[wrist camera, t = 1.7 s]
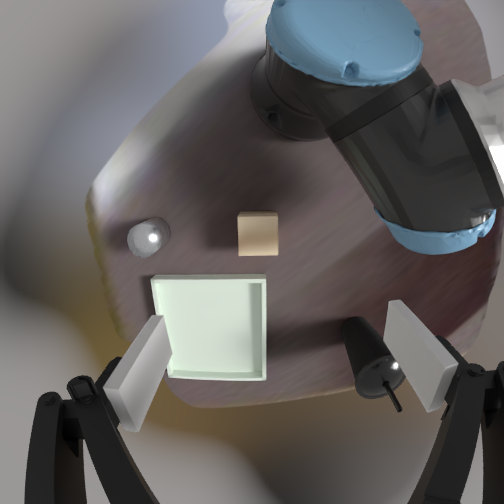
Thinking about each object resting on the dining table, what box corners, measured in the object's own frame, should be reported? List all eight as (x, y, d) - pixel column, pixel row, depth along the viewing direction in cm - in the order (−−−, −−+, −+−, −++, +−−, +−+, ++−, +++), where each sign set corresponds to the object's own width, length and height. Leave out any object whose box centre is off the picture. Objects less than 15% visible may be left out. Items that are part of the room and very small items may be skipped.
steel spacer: (142, 217, 41) (125, 225, 35) (169, 216, 41) (156, 223, 35) (144, 246, 42) (129, 257, 36) (171, 245, 42) (159, 257, 36)
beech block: (239, 211, 41) (237, 216, 36) (275, 211, 41) (277, 216, 36) (240, 246, 42) (238, 255, 37) (275, 245, 42) (278, 255, 37)
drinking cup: (368, 300, 44) (425, 374, 25) (379, 334, 46) (430, 410, 26) (326, 321, 45) (363, 407, 26) (341, 354, 47) (376, 439, 27)
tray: (155, 274, 43) (150, 279, 41) (265, 273, 43) (265, 278, 41) (171, 369, 48) (168, 377, 46) (265, 372, 48) (266, 380, 46)
